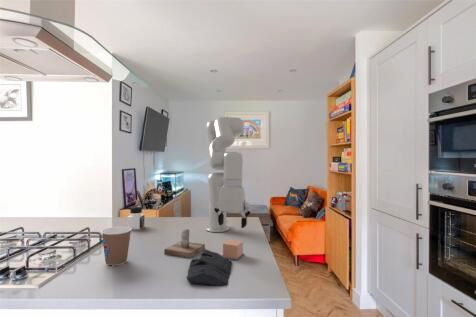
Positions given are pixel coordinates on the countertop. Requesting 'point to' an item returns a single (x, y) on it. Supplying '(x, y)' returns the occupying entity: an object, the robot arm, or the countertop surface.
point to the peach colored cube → (233, 249)
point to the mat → (233, 258)
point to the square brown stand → (184, 247)
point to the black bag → (210, 269)
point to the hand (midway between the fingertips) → (232, 225)
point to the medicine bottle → (135, 218)
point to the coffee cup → (116, 244)
